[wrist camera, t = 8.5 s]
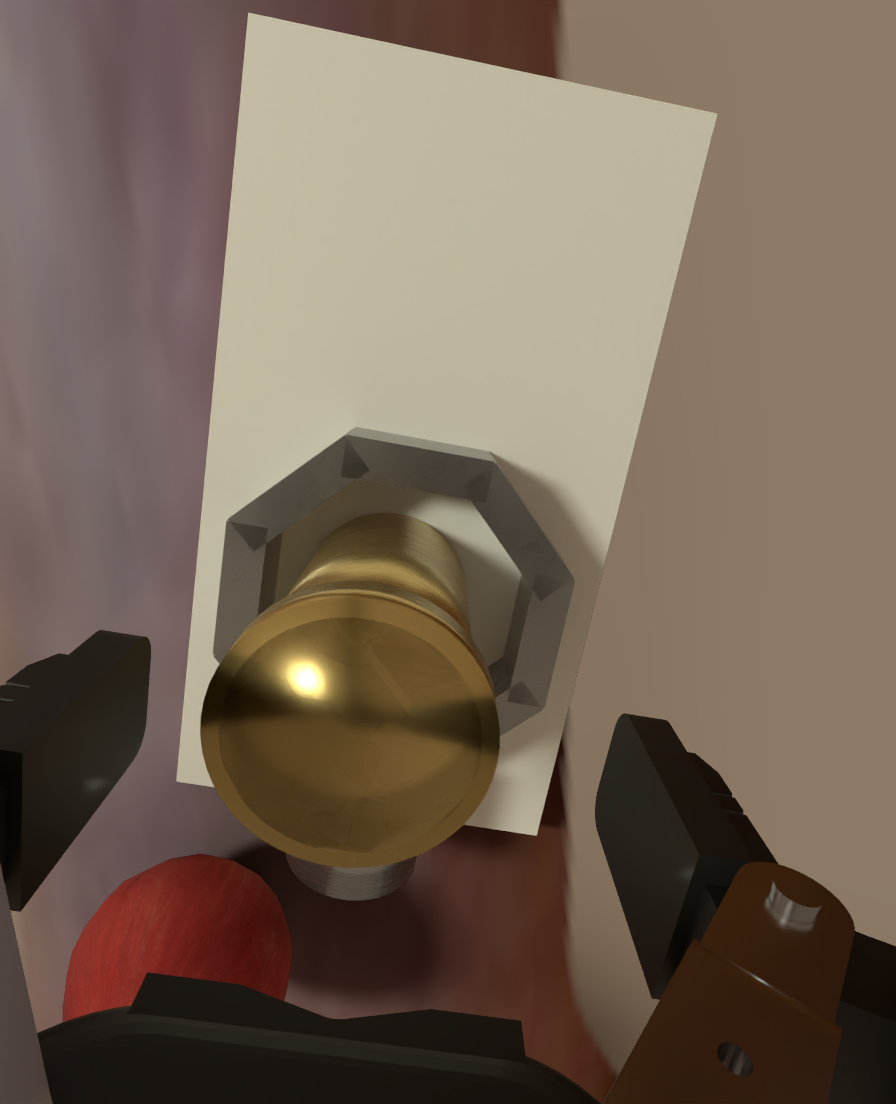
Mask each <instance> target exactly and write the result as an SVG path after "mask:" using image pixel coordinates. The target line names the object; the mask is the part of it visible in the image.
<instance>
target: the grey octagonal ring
mask: <svg viewBox="0 0 896 1104" xmlns="http://www.w3.org/2000/svg"><path fill="white" fill-rule="evenodd" d="M356 480H362V481H368V482H373V483H379V484H385V485H390V486H396V487H401V488H407V489H413V490H418V491H424V492H430V493H435V494H441V495H446V496H452V497H458V498H463V499H469V500H471V501H472V503H473V504H474V506H475V507H476V509H477V510H478V512H479V513H480V514H481V516H482V517H483V519H484V520H485V522H486V523H487V525H488V526H489V527H490V529H491V530H492V532H493V533H494V535H495V536H496V537H497V539H498V540H499V542H500V543H501V545H502V546H503V548H504V549H505V550H506V552H507V553H508V555H509V556H510V558H511V559H512V561H513V562H514V563H515V565H516V566H517V568H518V569H519V571H520V572H521V578H520V582H519V587H518V592H517V596H516V601H515V605H514V610H513V614H512V619H511V623H510V628H509V633H508V637H507V642H506V646H505V651H504V655H503V657H502V658H501V659H499V660H498V661H496V662H494V663H493V664H491V665H490V666H488V669H489V673H490V676H491V680H492V683H493V687H494V694H495V700H496V706H497V713H498V720H499V727H500V736H501V735H503V734H505V733H506V732H508V731H509V730H511V729H513V728H514V727H516V726H518V725H519V724H521V723H522V722H524V721H526V720H527V719H529V718H531V717H532V716H534V715H535V714H537V713H539V712H540V711H542V710H543V708H545V704H546V700H547V696H548V692H549V688H550V684H551V679H552V675H553V671H554V667H555V663H556V659H557V654H558V650H559V646H560V642H561V638H562V634H563V630H564V625H565V621H566V617H567V613H568V609H569V605H570V600H571V596H572V592H573V588H574V584H575V580H574V577H573V576H572V574H571V572H570V571H569V569H568V568H567V566H566V564H565V563H564V561H563V559H562V558H561V556H560V555H559V553H558V552H557V550H556V549H555V547H554V546H553V544H552V543H551V541H550V540H549V539H548V537H547V536H546V534H545V533H544V531H543V530H542V528H541V527H540V525H539V524H538V522H537V521H536V519H535V518H534V516H533V515H532V513H531V512H530V510H529V509H528V507H527V506H526V504H525V503H524V501H523V500H522V498H521V497H520V495H519V494H518V493H517V491H516V490H515V488H514V487H513V485H512V484H511V482H510V481H509V479H508V478H507V476H506V475H505V473H504V472H503V470H502V469H501V467H500V466H499V464H498V463H497V461H496V460H495V458H494V457H493V455H492V454H491V452H490V453H489V451H486V450H480V449H475V448H469V447H464V446H458V445H453V444H447V443H442V442H436V441H431V440H425V439H420V438H414V437H409V436H403V435H398V434H393V433H387V432H382V431H376V430H371V429H365V428H360V427H356V428H355V427H354V428H353V429H352V430H350V431H349V432H347V433H346V434H345V435H343V436H342V437H340V438H339V439H338V440H336V441H335V442H333V443H332V444H331V445H329V446H328V447H327V448H325V449H324V450H322V451H321V452H320V453H318V454H317V455H315V456H314V457H313V458H311V459H310V460H308V461H307V462H306V463H304V464H303V465H301V466H300V467H299V468H297V469H296V470H294V471H293V472H292V473H290V474H289V475H287V476H286V477H285V478H283V479H282V480H280V481H279V482H278V483H276V484H275V485H273V486H272V487H271V488H269V489H268V490H266V491H265V492H264V493H262V494H261V495H259V496H258V497H257V498H255V499H254V500H252V501H251V502H250V503H248V504H247V505H246V506H244V507H243V508H242V509H240V510H239V511H238V512H236V513H235V514H234V515H232V516H231V517H230V518H228V520H227V521H226V528H225V538H224V548H223V558H222V567H221V577H220V587H219V596H218V606H217V616H216V625H215V635H214V645H213V654H214V656H213V657H214V658H215V659H216V660H217V661H218V663H219V664H220V663H221V661H222V660H223V659H224V657H225V656H226V654H227V653H228V652H229V650H230V649H231V647H232V646H233V645H234V643H235V642H236V641H237V639H238V638H239V637H240V635H241V634H242V632H243V631H244V630H245V628H246V627H247V626H248V625H249V624H250V623H251V622H252V621H253V620H254V619H255V618H256V617H257V616H258V615H259V614H261V613H262V612H263V611H264V610H266V609H267V608H268V607H269V606H271V605H272V604H274V599H275V591H276V583H277V575H278V567H279V559H280V551H281V543H282V535H283V531H284V530H286V529H287V528H289V527H290V526H292V525H293V524H294V523H296V522H297V521H299V520H300V519H302V518H303V517H304V516H306V515H307V514H309V513H310V512H312V511H313V510H314V509H316V508H317V507H319V506H320V505H321V504H323V503H324V502H326V501H327V500H329V499H330V498H331V497H333V496H334V495H336V494H337V493H339V492H340V491H341V490H343V489H344V488H346V487H347V486H349V485H350V484H351V483H353V482H354V481H356ZM416 857H417V856H414V857H412V858H409V859H406V860H404V861H400V862H396V863H392V864H388V865H382V866H375V867H365V868H345V867H335V866H327V865H322V864H318V863H313V862H309V861H306V860H303V859H300V858H297V857H294V856H292V855H290V854H287V853H286V858H287V862H288V864H289V867H290V868H291V870H292V872H293V873H294V874H295V876H296V877H297V878H298V879H299V880H300V881H301V882H302V883H304V884H305V885H306V886H308V887H309V888H311V889H313V890H315V891H316V892H319V893H321V894H324V895H326V896H330V897H333V898H338V899H343V900H370V899H375V898H379V897H382V896H385V895H388V894H390V893H392V892H394V891H396V890H397V889H399V888H400V887H401V886H402V885H404V884H405V883H406V882H407V880H408V879H409V878H410V876H411V874H412V873H413V870H414V867H415V862H416Z"/></svg>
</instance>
